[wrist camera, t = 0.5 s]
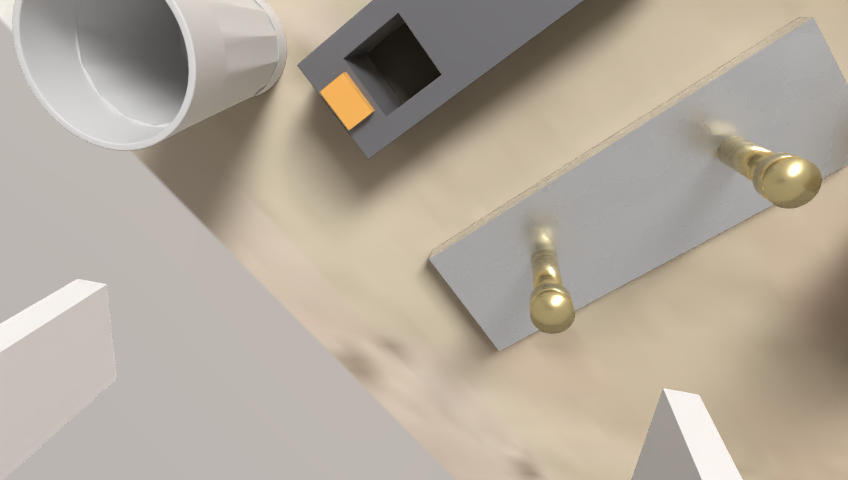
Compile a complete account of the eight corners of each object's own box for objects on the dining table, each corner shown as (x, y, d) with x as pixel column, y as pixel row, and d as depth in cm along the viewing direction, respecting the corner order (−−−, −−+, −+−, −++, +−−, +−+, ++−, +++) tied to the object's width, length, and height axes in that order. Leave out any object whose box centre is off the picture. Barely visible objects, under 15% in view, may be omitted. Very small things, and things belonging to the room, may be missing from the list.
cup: (288, -35, 31) (168, -67, 20) (309, 107, 34) (213, 146, 23) (161, -22, 33) (-17, -46, 22) (191, 114, 36) (47, 154, 24)
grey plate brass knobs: (499, 339, 38) (497, 419, 30) (432, 250, 37) (411, 311, 29) (862, 142, 30) (983, 182, 23) (798, 17, 29) (905, 14, 21)
